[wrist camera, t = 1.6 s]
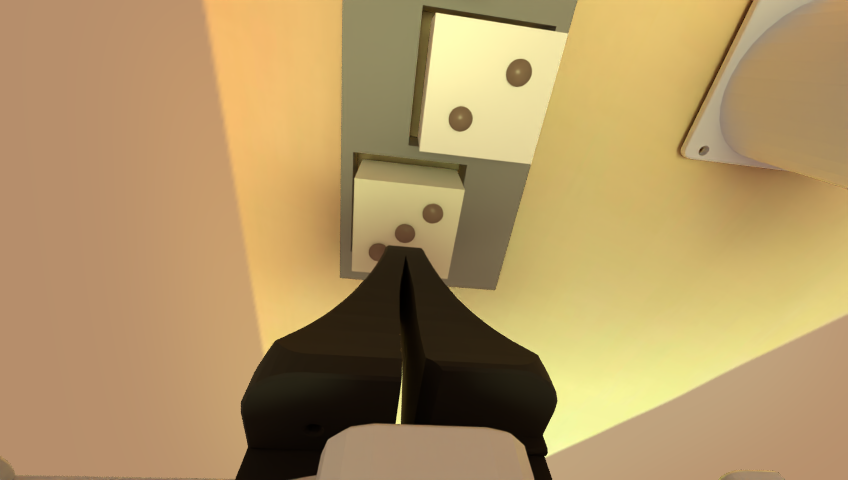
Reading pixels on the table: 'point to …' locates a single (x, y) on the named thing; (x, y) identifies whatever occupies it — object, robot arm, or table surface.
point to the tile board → (391, 117)
